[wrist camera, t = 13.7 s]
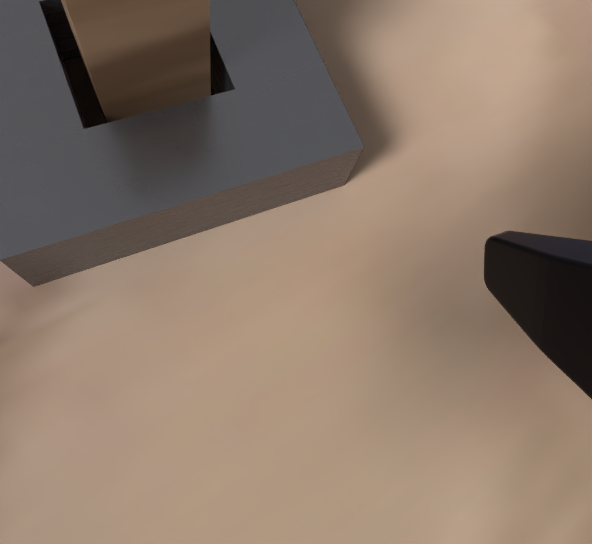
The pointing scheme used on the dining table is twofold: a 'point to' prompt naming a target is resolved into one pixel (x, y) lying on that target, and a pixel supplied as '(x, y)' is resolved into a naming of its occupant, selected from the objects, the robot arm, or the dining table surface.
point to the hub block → (160, 141)
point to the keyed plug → (143, 52)
